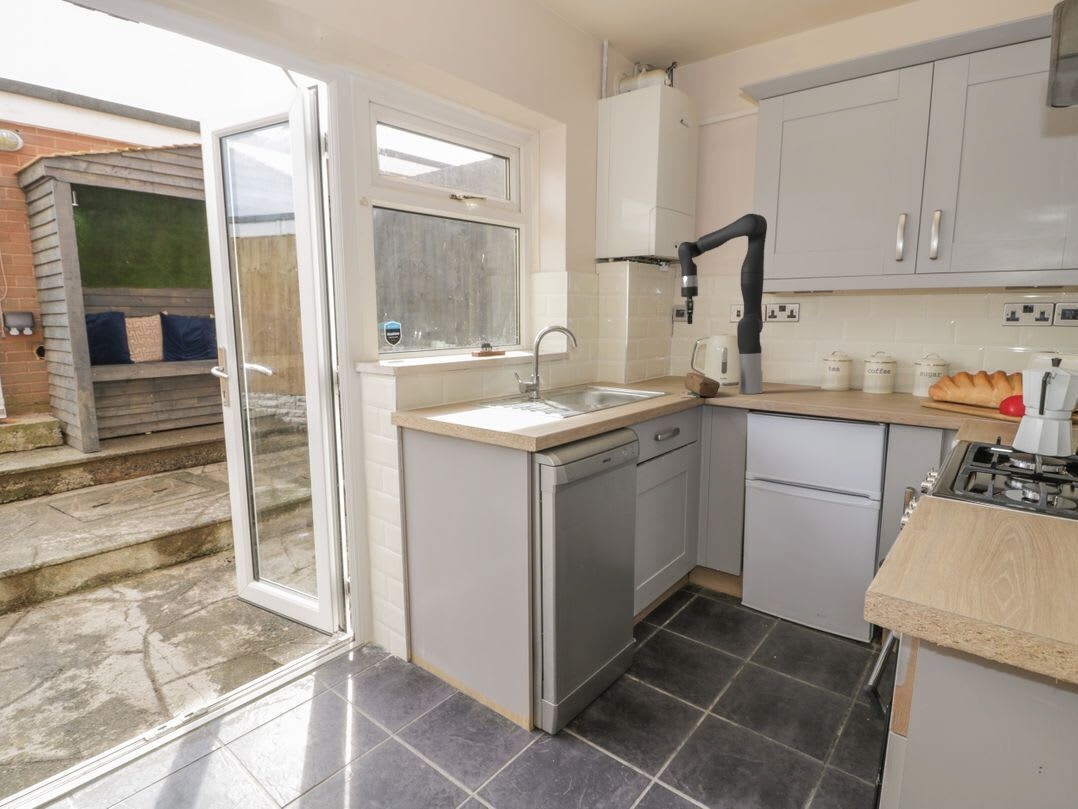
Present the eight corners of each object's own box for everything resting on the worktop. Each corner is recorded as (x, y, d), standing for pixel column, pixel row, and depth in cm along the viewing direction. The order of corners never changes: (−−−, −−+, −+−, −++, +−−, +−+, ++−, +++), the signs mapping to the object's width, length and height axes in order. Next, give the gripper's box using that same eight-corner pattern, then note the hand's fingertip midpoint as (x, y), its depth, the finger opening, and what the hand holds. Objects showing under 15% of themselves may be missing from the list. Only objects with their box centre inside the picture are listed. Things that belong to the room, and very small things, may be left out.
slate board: (697, 394, 258) (697, 391, 258) (699, 397, 247) (699, 394, 246) (679, 394, 260) (679, 392, 260) (680, 397, 248) (680, 395, 248)
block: (680, 386, 263) (696, 395, 243) (685, 370, 261) (701, 378, 242) (703, 391, 264) (720, 400, 245) (708, 375, 263) (725, 383, 243)
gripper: (698, 284, 263) (699, 323, 265) (696, 286, 276) (697, 323, 278) (681, 285, 264) (682, 324, 267) (680, 287, 277) (681, 324, 279)
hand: (689, 324), depth 272 cm, fingers closed
